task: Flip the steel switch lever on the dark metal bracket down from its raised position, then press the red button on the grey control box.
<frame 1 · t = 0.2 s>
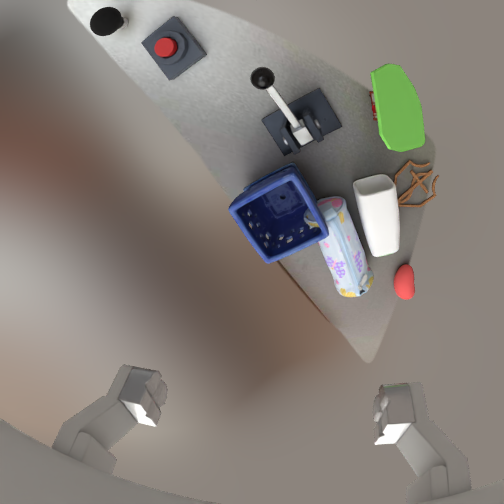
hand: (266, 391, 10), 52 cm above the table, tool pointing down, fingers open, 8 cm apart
control box: (175, 48, 47), on the table
stress ball: (418, 289, 64), point 4 cm above the table
emblem: (413, 188, 55), point 1 cm above the table
start button: (165, 47, 44), point 5 cm above the table, slide at 0.2 cm
light bulb: (125, 23, 45), on the table
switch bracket: (301, 121, 53), on the table
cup: (383, 249, 61), point 3 cm above the table
pencil case: (339, 236, 64), on the table, touching flower pot
switch lever: (283, 105, 41), point 12 cm above the table, hinge at 25.0°
flower pot: (283, 194, 62), on the table, touching pencil case
green stand with toy: (403, 107, 43), point 5 cm above the table
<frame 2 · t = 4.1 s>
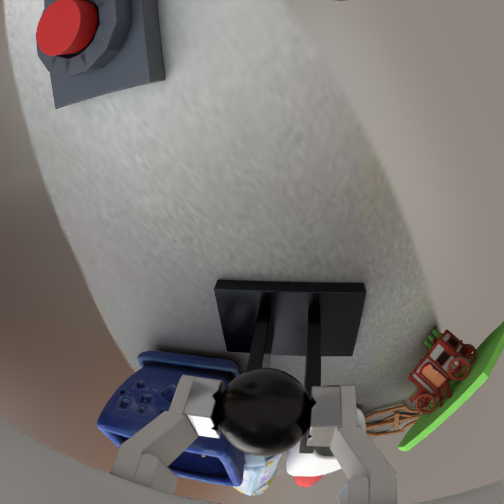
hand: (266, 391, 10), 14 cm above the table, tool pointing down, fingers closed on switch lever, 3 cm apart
control box: (107, 27, 15), on the table
stress ball: (319, 484, 47), point 4 cm above the table
emblem: (384, 425, 36), point 1 cm above the table
start button: (66, 26, 12), point 5 cm above the table, slide at 0.2 cm
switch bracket: (290, 317, 27), on the table
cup: (303, 461, 40), point 3 cm above the table
pencil case: (255, 428, 41), on the table, touching flower pot
switch lever: (274, 416, 14), point 12 cm above the table, hinge at 25.0°, touching gripper
flower pot: (200, 374, 35), on the table, touching pencil case
green stand with toy: (463, 386, 23), point 5 cm above the table
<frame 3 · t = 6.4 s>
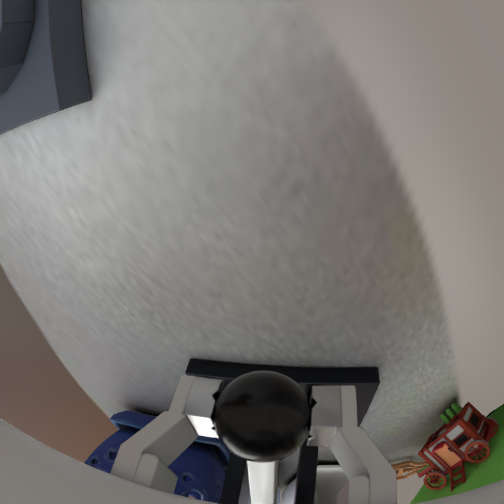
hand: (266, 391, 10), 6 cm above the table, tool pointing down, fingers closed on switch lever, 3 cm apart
control box: (22, 31, 9), on the table
emblem: (387, 476, 29), point 1 cm above the table
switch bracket: (282, 397, 21), on the table
switch lever: (264, 491, 11), point 8 cm above the table, hinge at -16.7°, touching gripper
flower pot: (183, 433, 29), on the table, touching pencil case
green stand with toy: (478, 460, 16), point 5 cm above the table
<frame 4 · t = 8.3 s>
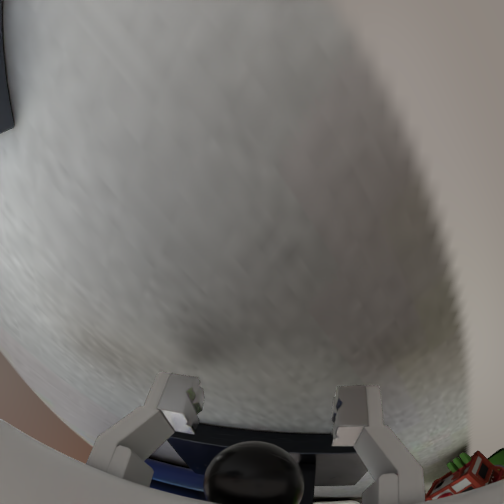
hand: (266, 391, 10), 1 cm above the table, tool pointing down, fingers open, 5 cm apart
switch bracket: (274, 454, 17), on the table
flower pot: (171, 470, 25), on the table, touching pencil case
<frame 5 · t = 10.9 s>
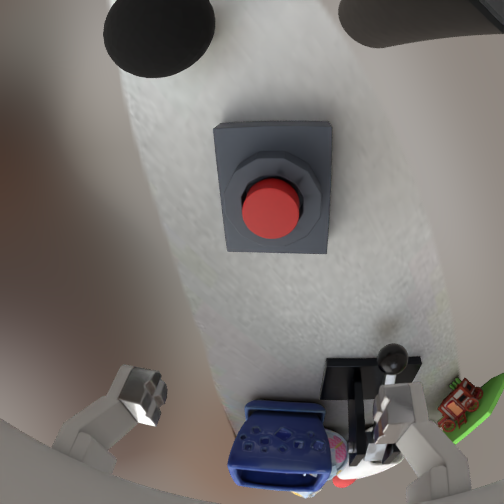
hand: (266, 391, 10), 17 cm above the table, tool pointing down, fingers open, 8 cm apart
control box: (276, 183, 24), on the table
stress ball: (353, 484, 55), point 4 cm above the table
start button: (271, 208, 20), point 5 cm above the table, slide at 0.2 cm
light bulb: (199, 36, 18), on the table
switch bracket: (368, 376, 36), on the table
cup: (348, 467, 49), point 3 cm above the table
pencil case: (314, 445, 50), on the table, touching flower pot
switch lever: (383, 405, 27), point 7 cm above the table, hinge at -29.9°
flower pot: (286, 412, 44), on the table, touching pencil case
green stand with toy: (473, 413, 31), point 5 cm above the table
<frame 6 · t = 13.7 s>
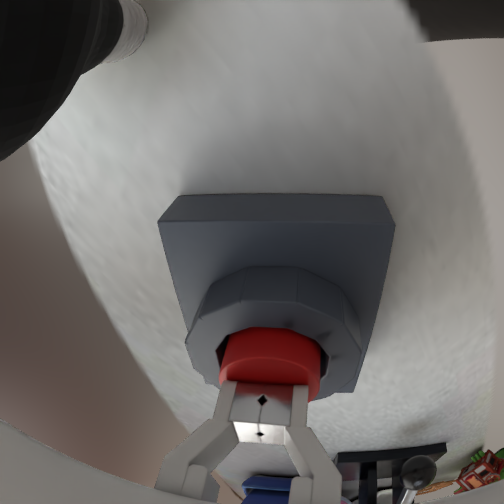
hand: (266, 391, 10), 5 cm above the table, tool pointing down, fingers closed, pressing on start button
control box: (281, 294, 14), on the table
emblem: (423, 492, 35), point 1 cm above the table
start button: (271, 368, 11), point 4 cm above the table, slide at -0.2 cm, touching gripper
light bulb: (132, 31, 9), on the table
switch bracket: (384, 461, 26), on the table
pencil case: (319, 500, 41), on the table, touching flower pot
flower pot: (288, 482, 34), on the table, touching pencil case
green stand with toy: (492, 483, 22), point 5 cm above the table
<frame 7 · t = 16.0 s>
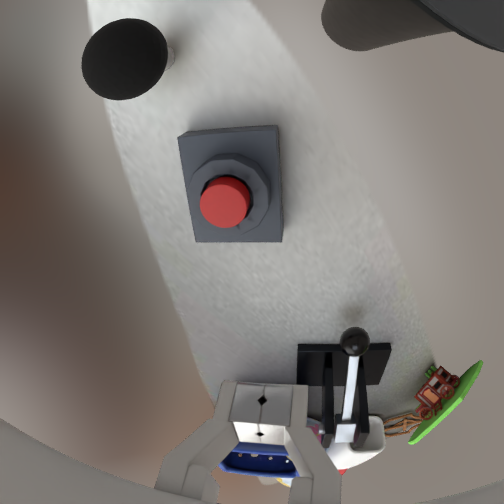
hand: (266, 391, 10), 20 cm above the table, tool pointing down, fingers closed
control box: (236, 181, 28), on the table
stress ball: (343, 477, 58), point 4 cm above the table
emblem: (396, 428, 48), point 1 cm above the table
start button: (225, 202, 24), point 5 cm above the table, slide at 0.2 cm
light bulb: (166, 58, 22), on the table
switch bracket: (341, 363, 39), on the table
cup: (334, 458, 52), point 3 cm above the table
pencil case: (299, 435, 53), on the table, touching flower pot
switch lever: (350, 387, 31), point 7 cm above the table, hinge at -29.9°
flower pot: (267, 400, 47), on the table, touching pencil case
green stand with toy: (450, 401, 34), point 5 cm above the table
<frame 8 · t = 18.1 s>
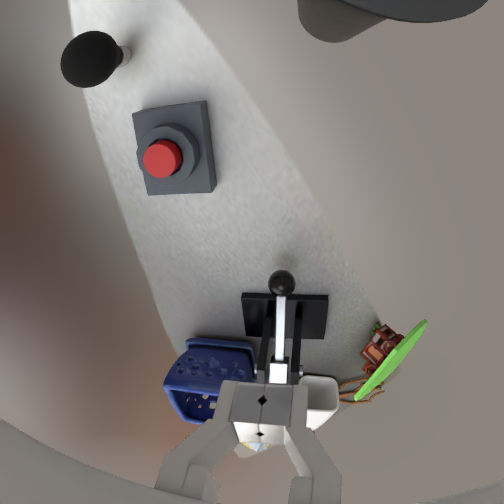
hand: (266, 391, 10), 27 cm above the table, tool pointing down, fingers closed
control box: (178, 146, 34), on the table
emblem: (354, 394, 54), point 1 cm above the table
start button: (162, 158, 30), point 5 cm above the table, slide at 0.2 cm
light bulb: (126, 56, 28), on the table
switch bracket: (285, 314, 45), on the table
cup: (297, 422, 59), point 3 cm above the table
switch lever: (280, 327, 37), point 7 cm above the table, hinge at -29.9°
flower pot: (225, 354, 53), on the table, touching pencil case
green stand with toy: (397, 361, 41), point 5 cm above the table
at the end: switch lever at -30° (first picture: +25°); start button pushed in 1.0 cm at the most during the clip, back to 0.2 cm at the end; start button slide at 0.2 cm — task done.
